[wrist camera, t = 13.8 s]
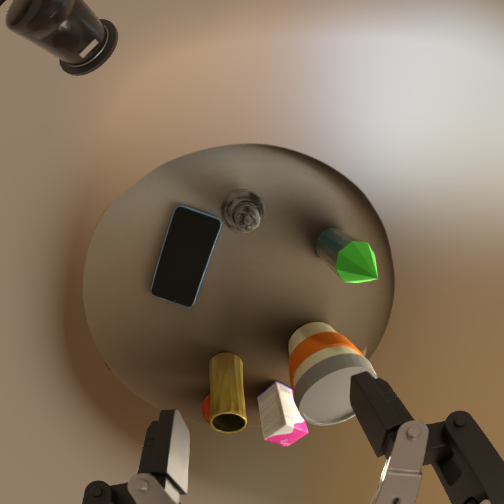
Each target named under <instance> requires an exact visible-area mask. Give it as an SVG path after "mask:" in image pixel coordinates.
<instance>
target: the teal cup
mask: <svg viewBox="0 0 504 504" xmlns="http://www.w3.org/2000/svg"><path fill="white" fill-rule="evenodd" d="M352 241H358V242H363V241H361V240H360V239H358V238H356V237H354V236H352V235H350V234H348V233H346V232H345V231H343V230H340V229H338V228H329V229H326V230H324V231H323V232H322V233H321V234H320V235H319V237H318V238H317V241H316V252H317V255H318V256H319V257H320V259H321V260H322V261H323V262H324V263H326V264H327V265H328V266H329V267H330V268H331V269H332V270H333V271H334V272H335V273H336V274H337V275H338V276H339V274H338V273H337V271H336V270H335V268H336V263H337V258H338V253H339V251H341V250H342V249H343V248H344V247H346V246H347V245H348V244H349V243H350V242H352ZM370 248H371V247H370ZM371 249H372V248H371ZM372 251H373V250H372ZM339 277H340V276H339ZM340 278H341V277H340ZM351 283H352V282H351Z"/></svg>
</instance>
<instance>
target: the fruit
mask: <svg viewBox="0 0 504 504" xmlns="http://www.w3.org/2000/svg"><path fill="white" fill-rule="evenodd" d="M202 414H203V417H204V418H205V420H206V421H207V422H208V423H209V424H210V394H209V395H208V396H207V397H206V398H205V399H204V401H203V403H202Z"/></svg>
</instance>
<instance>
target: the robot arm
mask: <svg viewBox="0 0 504 504" xmlns="http://www.w3.org/2000/svg"><path fill="white" fill-rule="evenodd" d="M5 1H6V0H0V6H1V5H2V4H3V3H4V2H5ZM5 22H6V26H7V27H8V29H9V30H11V31H12V32H14V33H16V34H18V35H20V36H22V37H23V38H25V39H27V40H29V41H30V42H32V43H34V44H36V45H37V46H39V47H41V48H42V49H44V50H46V51H48V52H49V53H51V54H52V55H54V56H56V57H57V58H59V59H60V60H62V61H64V62H65V63H66V64H67V65H69V66H71V67H75V68H78V67H83V66H86V65H88V64H90V63H92V62H93V61H94V60H96V59H97V58H98V57H99V56H100V55H101V54H102V53H103V51H104V50H105V48H106V46H107V44H108V42H109V31H108V29H107V28H106V26H105V25H103V24H102V22H101V20H100V19H99V18H98V17H97V16H96V15H95V14H94V13H93V11H92V10H91V9H90V8H89V7H88V6H87V5H86V3H85V2H84V1H83V0H13V2H12V3H11V5H10V7H9V9H8V12H7V14H6V20H5ZM349 398H350V404H351V407H352V409H353V411H354V413H355V415H356V417H357V419H358V421H359V422H360V425H361V426H362V428H363V430H364V432H365V434H366V436H367V438H368V440H369V442H370V444H371V446H372V448H373V450H374V452H375V454H376V456H377V457H380V456H382V455H385V456H386V459H387V461H386V465H385V468H384V470H383V473H382V476H381V479H380V482H379V485H378V487H377V490H376V492H375V495H374V497H373V499H372V501H371V503H370V504H415V501H416V499H417V495H418V491H419V488H420V484H421V480H422V473H421V469H422V466H424V465H428V464H432V466H433V468H434V470H435V471H436V474H437V475H438V477H439V479H440V481H441V483H442V485H443V487H444V489H445V491H446V493H447V495H448V497H449V499H450V501H451V503H452V504H504V462H503V460H502V459H501V457H500V456H499V454H498V453H497V451H496V450H495V448H494V447H493V445H492V444H491V443H490V441H489V440H488V438H487V437H486V435H485V434H484V433H483V431H482V430H481V429H480V427H479V426H478V424H477V423H476V422H475V420H474V419H473V418H472V416H471V415H470V414H469V413H467V412H465V411H455V412H453V413H451V414H450V415H449V416H448V417H447V419H446V421H443V422H438V423H434V424H424V423H423V422H420V421H416V420H414V419H413V418H412V416H411V415H410V413H409V412H408V410H407V409H406V408H405V406H404V405H403V403H402V402H401V401H400V399H399V398H398V397H397V395H396V394H395V392H393V389H392V388H391V387H390V385H389V384H388V383H387V382H386V381H384V380H382V379H381V378H376V379H373V378H372V377H371V375H370V374H369V373H368V372H367V371H364V372H361V373H358V374H355V375H352V376H351V379H350V395H349ZM189 449H190V433H189V430H188V427H187V425H186V424H185V422H184V420H183V418H182V416H181V414H180V412H179V411H178V410H177V409H173V410H162V411H161V412H160V417H159V421H153V422H152V423H151V424H150V426H149V427H148V429H147V432H146V437H145V442H144V447H143V451H142V456H141V461H140V466H139V471H138V473H137V474H136V475H134V476H133V477H132V478H131V479H130V480H129V481H128V482H127V483H124V484H118V485H112V486H109V485H108V484H107V483H105V482H103V481H94V482H91V483H90V484H89V485H88V486H87V487H86V489H85V493H84V498H83V503H82V504H181V503H180V502H179V494H187V485H188V465H189V464H188V463H189Z"/></svg>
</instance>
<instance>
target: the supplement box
mask: <svg viewBox="0 0 504 504" xmlns="http://www.w3.org/2000/svg"><path fill="white" fill-rule="evenodd" d="M257 399H258V406H259V412H260V418H261V424H262V430H263V437H264V440H267V441H270V442H273V443H276V444H279V445H282V446H285V447H287V446H289V445H290V444H292V443H293V442H295V441H296V440H298V439H299V438H301V437H302V436H304V435H305V434H307V433H308V430H307V427H306V423H305V420H304V419H303V418H302V417H301V415H300V413H299V411H298V409H297V407H296V405H295V403H294V400H293V390H292V388H290V387H288V386H286V385H284V384H282V383H280V382H278V381H277V380H276V381H274V382H273V383H272V384H271V385H270V386H269V387H267V388H266V389H265V390H264V391H263V392H261V393H260V394H259V395H258V396H257Z"/></svg>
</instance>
